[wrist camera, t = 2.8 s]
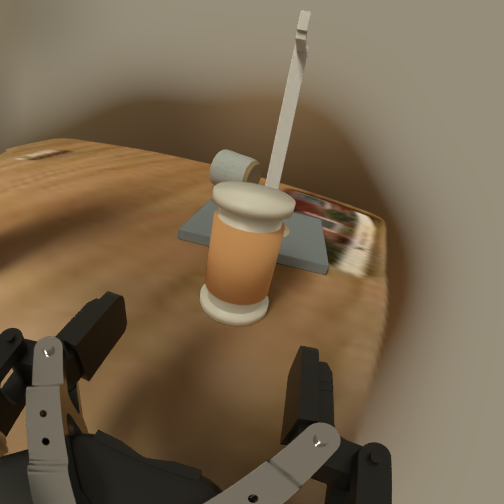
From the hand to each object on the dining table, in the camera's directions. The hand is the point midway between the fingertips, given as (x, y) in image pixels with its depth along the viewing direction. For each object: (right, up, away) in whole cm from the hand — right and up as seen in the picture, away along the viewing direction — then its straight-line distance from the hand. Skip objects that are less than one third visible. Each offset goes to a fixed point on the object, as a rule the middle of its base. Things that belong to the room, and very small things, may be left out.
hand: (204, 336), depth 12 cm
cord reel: (0, -1, +13) cm, 13 cm away
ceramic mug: (-1, +16, +45) cm, 48 cm away
